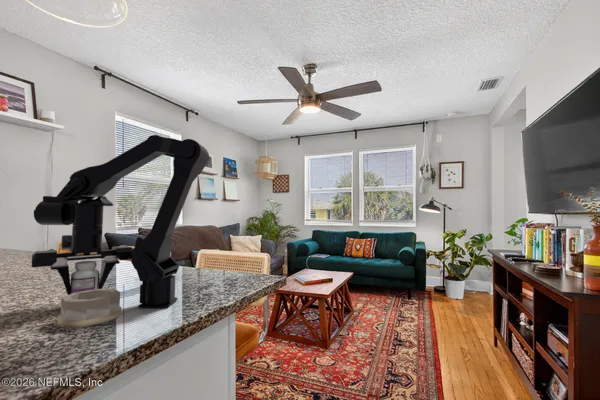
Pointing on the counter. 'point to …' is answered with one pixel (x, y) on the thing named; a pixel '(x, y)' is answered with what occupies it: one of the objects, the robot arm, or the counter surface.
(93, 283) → the pill bottle
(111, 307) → the socket base
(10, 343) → the counter surface
